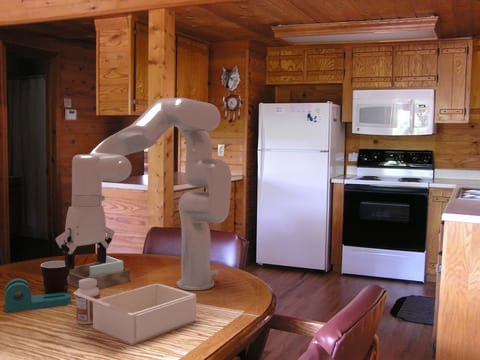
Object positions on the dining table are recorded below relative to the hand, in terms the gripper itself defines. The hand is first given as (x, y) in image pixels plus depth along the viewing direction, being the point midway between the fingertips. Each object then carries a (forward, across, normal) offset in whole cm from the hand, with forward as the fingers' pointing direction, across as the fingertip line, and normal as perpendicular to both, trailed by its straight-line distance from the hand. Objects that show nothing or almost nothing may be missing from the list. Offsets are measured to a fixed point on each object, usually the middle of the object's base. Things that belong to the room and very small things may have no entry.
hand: (86, 265), depth 140 cm
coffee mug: (+15, -8, -26) cm, 31 cm away
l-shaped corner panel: (+15, -24, -29) cm, 41 cm away
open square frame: (+15, -24, -30) cm, 41 cm away
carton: (+15, -9, +14) cm, 22 cm away
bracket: (+16, +1, -21) cm, 26 cm away
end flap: (+7, +2, +14) cm, 16 cm away
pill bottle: (+16, -1, 0) cm, 16 cm away
